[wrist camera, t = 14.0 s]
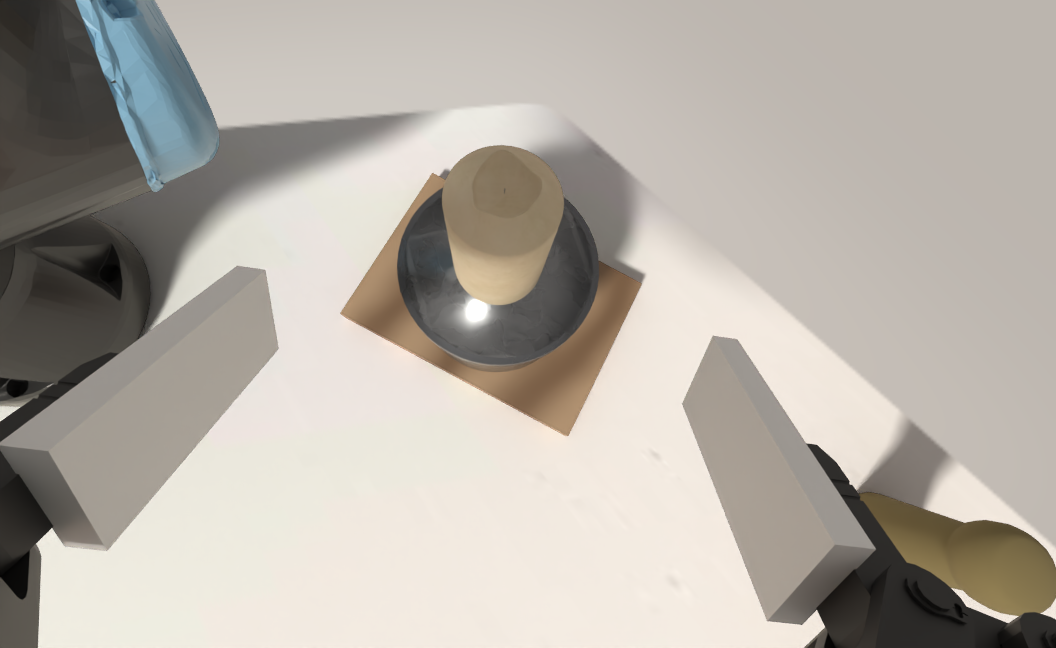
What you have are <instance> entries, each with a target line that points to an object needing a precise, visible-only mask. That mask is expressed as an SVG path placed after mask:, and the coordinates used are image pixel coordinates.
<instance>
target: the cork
mask: <svg viewBox="0 0 1056 648" xmlns="http://www.w3.org/2000/svg"><path fill="white" fill-rule="evenodd" d="M859 495H860V500H861V501H864V503H865V504H866V505H867V507H868V508H869V510H870V511H871V513H872V514H873V515H874V517H875V518H876V520H877V521H878V522H879V524H880V525H881V527H882V528H883V530H884V531H885V532H886V534H887V535H888V537H889V538H890V540H891V541H892V542H893V544H894V545H895V547H896V548H897V550H898V551H899V552H900V554H901V555H902V557H903V558H904V559H905V561H906V562H907V563H911V564H915V565H917V566H919V567H921V568H923V569H925V570H927V571H929V572H931V573H932V574H934V575H935V576H937V577H938V578H939V579H941V580H942V581H943V582H945V583H946V584H947V585H948V586H949V587H950V588H955V589H959V590H963V591H964V592H965V593H966V594H967V595H968V596H969V597H971V598H972V599H974V600H975V601H977V602H979V603H980V604H982V605H984V606H986V607H988V608H989V609H992V610H994V611H997V612H1000V613H1004V614H1009V615H1015V616H1020V615H1022V614H1023V613H1027V612H1037V613H1042V612H1044V611H1045V610H1046V609H1048V608H1049V607H1050V606H1051V605H1052V603H1053V602H1054V600H1055V598H1056V567H1055V564H1054V561H1053V559H1052V558H1051V556H1050V554H1049V553H1048V551H1047V550H1046V549H1045V548H1044V547H1043V546H1042V545H1041V544H1040V543H1039V542H1038V541H1037V540H1036V539H1035V538H1033V537H1032V536H1031V535H1029V534H1028V533H1026V532H1024V531H1022V530H1020V529H1018V528H1016V527H1014V526H1011V525H1009V524H1004V523H999V522H994V521H988V520H980V521H972V522H967V523H963V522H960V521H957V520H954V519H951V518H948V517H946V516H943V515H940V514H937V513H934V512H931V511H928V510H925V509H922V508H919V507H916V506H913V505H910V504H907V503H904V502H901V501H899V500H896V499H893V498H890V497H887V496H884V495H881V494H877V493H871V492H866V493H860V494H859Z"/></svg>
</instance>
